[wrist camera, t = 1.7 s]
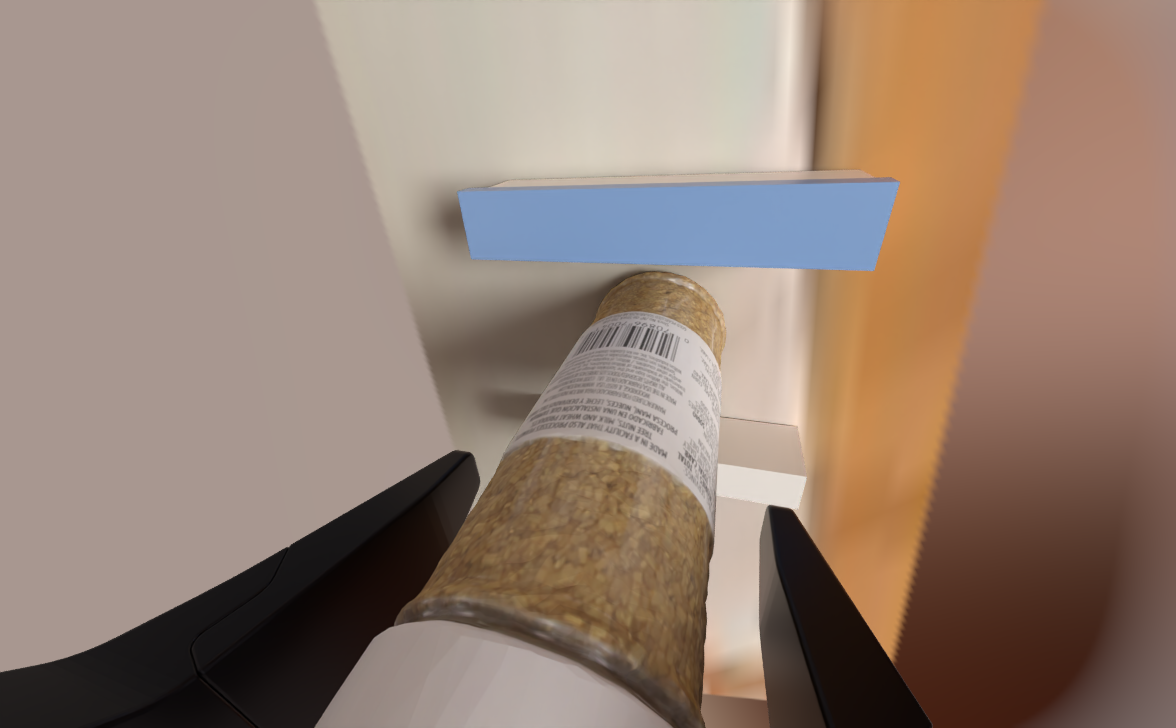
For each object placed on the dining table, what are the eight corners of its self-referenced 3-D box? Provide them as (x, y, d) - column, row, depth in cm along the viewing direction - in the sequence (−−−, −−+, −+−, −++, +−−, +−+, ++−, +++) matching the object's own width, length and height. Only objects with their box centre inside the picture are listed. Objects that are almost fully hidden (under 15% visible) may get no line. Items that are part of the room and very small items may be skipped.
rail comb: (790, 457, 16) (800, 524, 13) (545, 422, 19) (515, 472, 16) (1010, -449, 6) (1186, -802, 4) (446, -247, 9) (337, -378, 7)
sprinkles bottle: (589, 363, 16) (297, 881, 6) (611, 250, 14) (147, 802, 3) (704, 398, 16) (632, 1072, 5) (750, 287, 13) (817, 1184, 2)
